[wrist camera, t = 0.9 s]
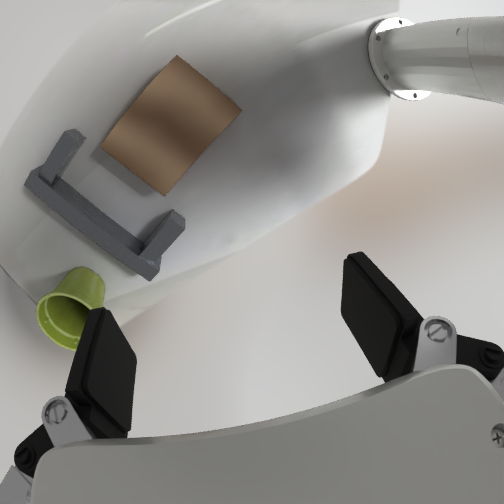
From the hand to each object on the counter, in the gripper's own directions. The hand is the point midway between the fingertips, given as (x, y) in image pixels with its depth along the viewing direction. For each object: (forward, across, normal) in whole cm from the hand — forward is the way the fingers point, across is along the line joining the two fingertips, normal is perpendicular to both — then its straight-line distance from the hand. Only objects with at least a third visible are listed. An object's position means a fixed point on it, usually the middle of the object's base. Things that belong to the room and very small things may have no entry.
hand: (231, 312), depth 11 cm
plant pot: (+25, +21, +12) cm, 34 cm away
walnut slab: (+25, +3, -6) cm, 26 cm away
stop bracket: (+25, +12, +1) cm, 28 cm away
